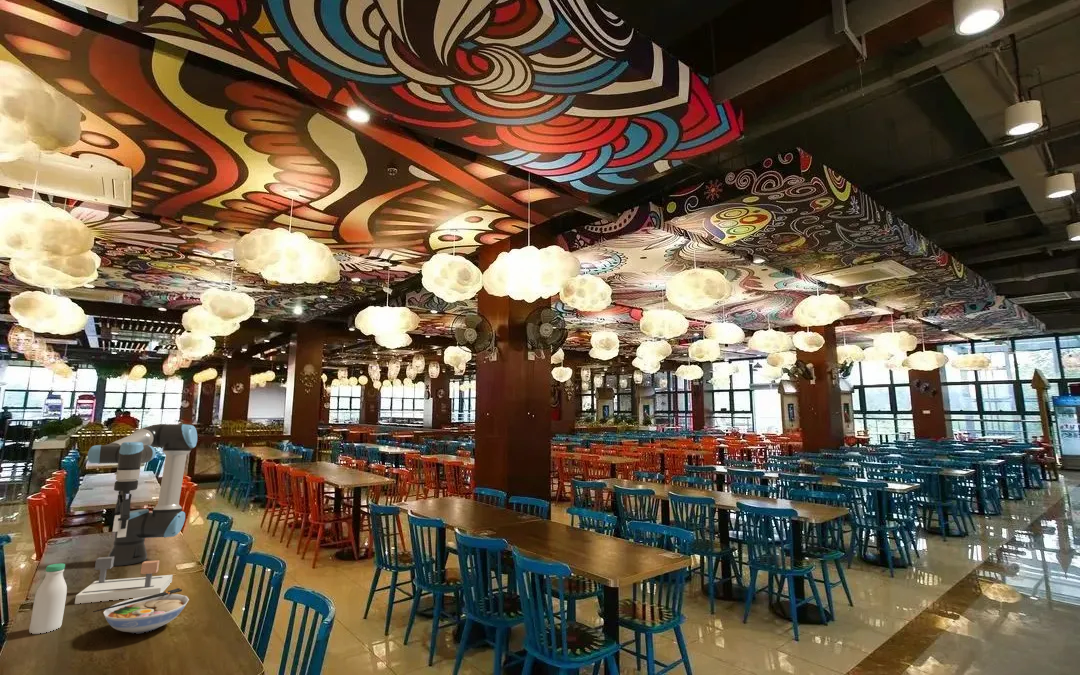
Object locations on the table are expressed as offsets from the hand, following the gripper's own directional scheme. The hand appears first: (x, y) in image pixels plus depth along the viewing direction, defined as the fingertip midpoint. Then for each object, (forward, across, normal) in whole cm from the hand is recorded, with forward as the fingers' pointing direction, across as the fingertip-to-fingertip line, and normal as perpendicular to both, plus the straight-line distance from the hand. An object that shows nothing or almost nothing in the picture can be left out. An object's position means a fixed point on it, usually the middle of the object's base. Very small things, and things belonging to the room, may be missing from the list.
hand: (118, 534), depth 206 cm
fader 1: (+18, -3, -3) cm, 19 cm away
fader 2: (+18, +15, +9) cm, 25 cm away
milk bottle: (+22, +33, -20) cm, 44 cm away
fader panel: (+21, +6, +4) cm, 23 cm away
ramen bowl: (+22, +54, +4) cm, 58 cm away
